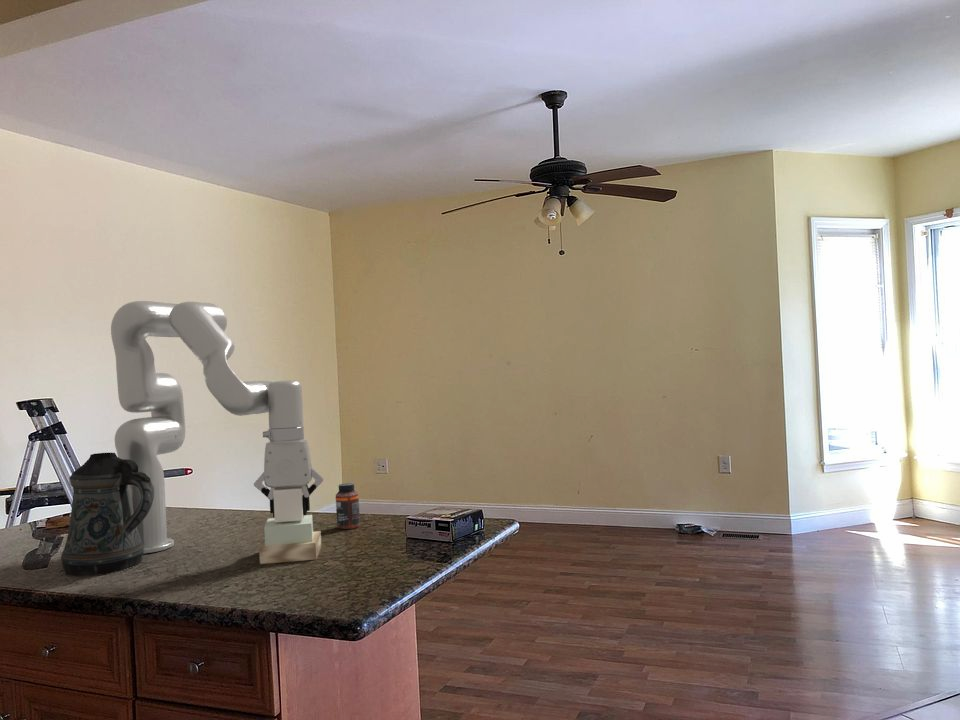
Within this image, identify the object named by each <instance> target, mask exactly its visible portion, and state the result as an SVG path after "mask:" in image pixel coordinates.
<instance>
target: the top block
mask: <svg viewBox="0 0 960 720" xmlns="http://www.w3.org/2000/svg"><path fill="white" fill-rule="evenodd" d="M313 521H314V520H313V514H306V515H305V517H304V519H303V520H300V521H286V522H275V518H273V517H272V518H271V517H270V518H269V517H268V518H267V520H266V522H265V525H264V531H263V532H264V540H265V546H271V545H281V544H292V543H302V542H312V539H313V532H314V524H313Z"/></svg>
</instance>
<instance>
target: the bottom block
mask: <svg viewBox="0 0 960 720" xmlns="http://www.w3.org/2000/svg"><path fill="white" fill-rule="evenodd" d="M321 533H322V531H321V530H317V531H316V530H315V531H314V530H313V539H312V542H302V543H292V544H281V545H271V546H265V539H263V541H262V542H261V544H260V546H258V549H259V552H258V554H259V564H260V565H263V564H276V563H287V562H301V561H312V560H313V561H314V560H315V561H316V560H317V559H318V557H319V554H320V552H321V549H322V534H321Z"/></svg>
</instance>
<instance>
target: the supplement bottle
mask: <svg viewBox="0 0 960 720" xmlns="http://www.w3.org/2000/svg"><path fill="white" fill-rule="evenodd" d="M335 511H336V515H335V516H336V526H337V529H339V530H353V529H356V528H359V526H361V517H360V502H359V493H358V492H357V491H356V490H355V483H353V482H344V483H343V482H342V483H339V484H338V491H337V493H336V494H335Z"/></svg>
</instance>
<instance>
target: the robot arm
mask: <svg viewBox="0 0 960 720" xmlns="http://www.w3.org/2000/svg"><path fill="white" fill-rule="evenodd" d="M227 324H228V320H227V316H226V314H225V312H224V311H223V309H222V308H221V307H219V306H218V305H216V304H214V303H209V302H208V303H207V302H198V301H184V302H183V301H182V302H181V303H170V302H159V301H153V300H152V301H150V300H134V301H130V302H127V303H125V304H123V305H122V306H121V307H119V308H118V310H116V312H115V314H113V317H112V320H111V324H110V335H111V336H110V337H111V340H112V341H111V343H112V345H113V351H114V354H115V355H114V357H115V365H116V366H115V367H116V368H115V369H116V383H117V395H118V396H117V397H118V400H119V405H120V407H121V408H122V409H123V410H124V411H126V412H128V413H133V414H134V413H137V414H138V413H150V414H151V416H147V417H141V418H140V417H139V418H133V419H130V420H128V421H125V422H123V423H122V424H121V425H120V426H119V427H118V428H117V430H116V431H115V434H114V448H115V451H116V455H117V457H119V458H120V459H127V460H132V461H134V462H135V463H136V464H137V466H138V472H143V473H145V474H146V475H147V476H148V477H149V478H150V480H151V482H152V484H153V487H154V499H153V503H152V506H151V508H150V510H149V512H148V514H147V515H146V517H145V518H144V519H143V521H142V522H141V523H140V524H139V525H138V526H137V530H138V533H139V536H140V539H141V541H142V543H143V545H144V552H143V555H144V554H151V553H157V552H160V551H161V552H162V551H164V550H168V549H170V548H173V546H174V545H175V540H174V539H173V538H169V537H168V533H167V532H168V529H167V527H168V526H167V509H166V507H167V505H166V486H165V474H164V468H163V466H162V464H161V462H160V460H159V458H158V455H165V454H169V453H173V452H175V451H177V450H179V449H180V448H181V447H182V445H183V444H184V442H185V438H186V421H185V420H186V419H185V407H184V395H183V389H182V387H181V384H180V382H179V381H178V380H177V378H175V376H174V375H171V374H169V373H165V372H156V366H155V355H154V353H153V350H152V347H151V346H150V344H149V342H148V341H147V340H146V338H148V337H153V338H154V337H155V338H180V340H181V342H183V343H184V344H185V346H187V347H188V349H189V351H191V352H192V353H193V355H194V356H195V357H196V358H197V359H198V360H199V362H200V363H201V364H202V367H203V368H202V369H203V370H202V372H203V379H204V382H205V385H206V387H207V389H208V391H209V392H210V393H211V395H212V396H213V398H215V400H216V401H217V402H218V403H219V404H220V405H221V406H222V408H223V409H225V410H226V411H227V412H229V413H230V414H232V415H234V416H242V417H243V416H250V415H261V414H265V413H267V414H268V430H266V431H262V438H266V439H268V440H269V441H268V442H266V443H265V448H264V457H263V458H264V460H263V463H264V464H263V473H261V474H260V476H259V477H258V478H257V479H256V480H255V482H254V483H253V487H255V488H256V489H257V490H258V491H259V492H260V493H262V494H263V495H264V496H265V497H266V498H267V499H268V500H269V512H270V514H272V518H275V517H274V495H273V490H274V489H277V488H278V487H292V486H300V488H302V492H303V498H302V501H303V516H304V515H308V512H310V510H311V506H310V496H311V494H313V493H314V491H315V490H316V489H317V488H318V487H319V486H320V485H321V484H322V483H323V482H324V477H322V475H320V474H319V473H318V472H317V471H316V470H315V469H314V468H313V467H312V459H311V452H310V448H309V444H308V443H309V442H308V440H307V439H305V431H304V430H305V429H304V409H303V408H304V407H303V388H302V384H301V382H299V380H298V381H297V380H277V381H276V380H275V381H268V380H252V381H247V380H246V381H242V380H241V378H240V377H238V375H237V374H236V373H235V372H234V371H233V370H232V368H231V366H230V365H229V362H228V360H229V359H230V358H231V357H232V355H233V354H234V351H235V348H236V347H235V343H234V341H233V340H232V339H231V338H230V337H229V336H228V334H227V333H226V332H225V331H226V328H227V326H228V325H227ZM312 478H313V480H315V481H314V482H313V483H312V484H311V485H310V486H309V485H308V484H309V483H311V481H312ZM263 482H264V484H263ZM128 486H129V492H130V497H131V502H132V507H133V513H134V512H135V511H136V510H137V508H138V506H139V503H140V501H141V493H140V490H139V488H138V487H136V486H135V485H128Z"/></svg>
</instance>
